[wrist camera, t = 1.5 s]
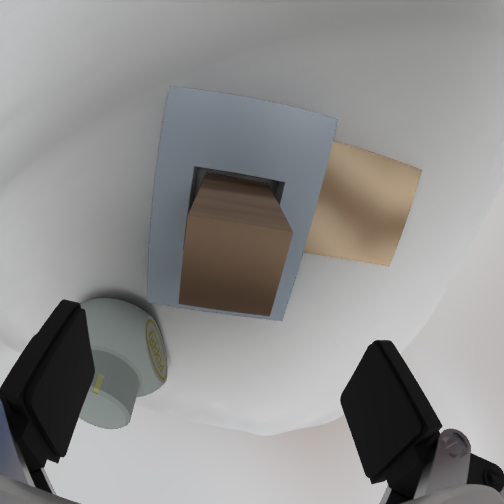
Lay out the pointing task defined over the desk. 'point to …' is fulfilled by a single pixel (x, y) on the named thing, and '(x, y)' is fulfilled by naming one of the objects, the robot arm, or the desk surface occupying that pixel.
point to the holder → (238, 161)
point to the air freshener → (121, 360)
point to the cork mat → (361, 206)
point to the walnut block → (234, 246)
